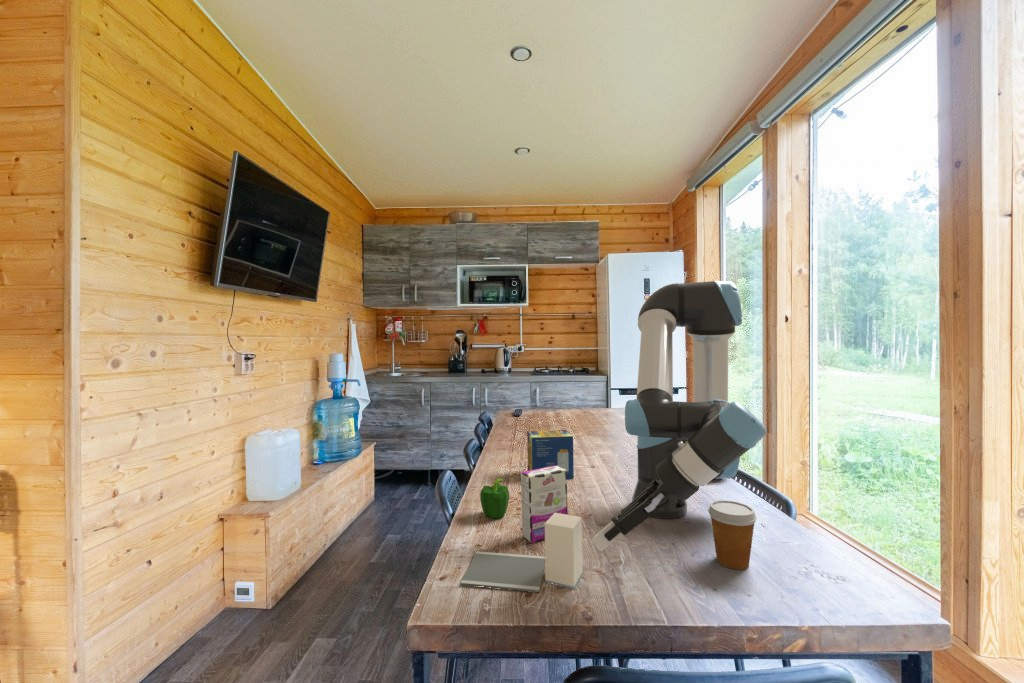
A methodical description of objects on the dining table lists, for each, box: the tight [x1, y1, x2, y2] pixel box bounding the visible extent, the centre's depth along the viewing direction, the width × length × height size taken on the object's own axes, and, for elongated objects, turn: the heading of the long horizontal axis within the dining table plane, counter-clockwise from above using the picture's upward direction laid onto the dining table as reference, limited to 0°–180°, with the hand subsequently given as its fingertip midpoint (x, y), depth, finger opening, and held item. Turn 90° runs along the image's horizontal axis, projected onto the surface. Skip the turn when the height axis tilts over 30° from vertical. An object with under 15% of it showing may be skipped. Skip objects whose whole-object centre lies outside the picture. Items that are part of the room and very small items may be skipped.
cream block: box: [544, 513, 584, 590], centre depth 88 cm, size 6×6×12 cm
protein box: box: [526, 429, 575, 480], centre depth 156 cm, size 10×15×16 cm
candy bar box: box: [520, 466, 569, 544], centre depth 108 cm, size 11×5×16 cm, turn 118°
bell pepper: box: [479, 478, 510, 520], centre depth 121 cm, size 8×8×10 cm
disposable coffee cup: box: [707, 499, 758, 570], centre depth 94 cm, size 10×10×12 cm
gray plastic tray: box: [459, 551, 545, 593], centre depth 91 cm, size 16×13×1 cm
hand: (596, 544), depth 85 cm, fingers closed
